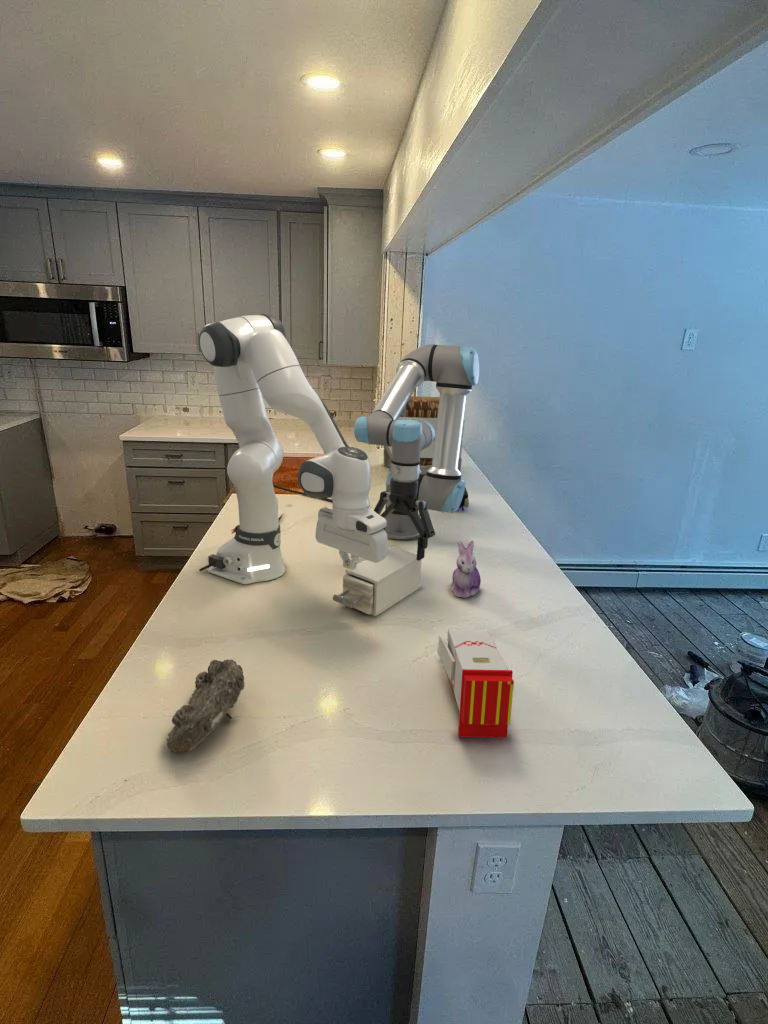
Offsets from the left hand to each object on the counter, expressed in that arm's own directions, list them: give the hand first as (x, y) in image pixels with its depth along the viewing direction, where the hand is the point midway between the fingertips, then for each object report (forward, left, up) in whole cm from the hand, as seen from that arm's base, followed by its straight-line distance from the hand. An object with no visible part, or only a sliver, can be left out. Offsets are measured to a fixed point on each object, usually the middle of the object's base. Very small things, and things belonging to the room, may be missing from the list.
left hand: (349, 567), depth 140 cm
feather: (-49, +57, -14) cm, 76 cm away
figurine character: (+9, +98, -14) cm, 99 cm away
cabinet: (+5, +14, -14) cm, 21 cm away
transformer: (-19, +139, -14) cm, 141 cm away
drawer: (+3, +9, -13) cm, 16 cm away
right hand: (+7, +21, -3) cm, 22 cm away
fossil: (-10, -44, -14) cm, 48 cm away
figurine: (+25, +26, -14) cm, 39 cm away
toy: (+35, -19, -14) cm, 42 cm away
